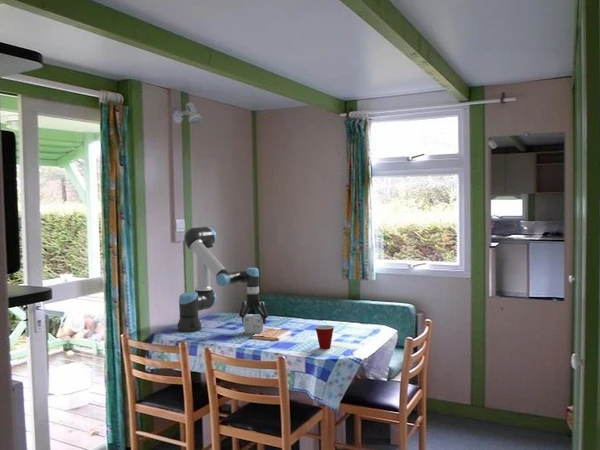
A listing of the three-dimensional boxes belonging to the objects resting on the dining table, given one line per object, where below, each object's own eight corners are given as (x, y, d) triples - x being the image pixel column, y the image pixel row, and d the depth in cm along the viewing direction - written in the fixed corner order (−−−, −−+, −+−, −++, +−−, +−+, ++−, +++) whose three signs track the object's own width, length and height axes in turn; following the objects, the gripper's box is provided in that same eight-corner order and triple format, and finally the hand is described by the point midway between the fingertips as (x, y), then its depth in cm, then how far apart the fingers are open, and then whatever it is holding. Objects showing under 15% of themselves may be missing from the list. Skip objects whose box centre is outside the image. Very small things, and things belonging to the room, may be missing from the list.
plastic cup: (333, 344, 289) (333, 323, 288) (335, 350, 278) (335, 328, 278) (314, 345, 289) (313, 324, 288) (315, 351, 278) (315, 328, 277)
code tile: (239, 335, 314) (239, 335, 314) (248, 330, 327) (248, 329, 327) (270, 337, 307) (270, 337, 307) (278, 331, 321) (278, 331, 321)
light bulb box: (263, 331, 323) (263, 313, 322) (261, 333, 316) (261, 316, 315) (246, 331, 324) (246, 313, 323) (244, 333, 317) (243, 316, 316)
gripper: (232, 293, 319) (233, 329, 320) (268, 294, 311) (269, 331, 312) (238, 291, 326) (238, 326, 327) (273, 292, 319) (274, 328, 319)
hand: (254, 328), depth 320 cm, fingers closed on light bulb box, 11 cm apart
